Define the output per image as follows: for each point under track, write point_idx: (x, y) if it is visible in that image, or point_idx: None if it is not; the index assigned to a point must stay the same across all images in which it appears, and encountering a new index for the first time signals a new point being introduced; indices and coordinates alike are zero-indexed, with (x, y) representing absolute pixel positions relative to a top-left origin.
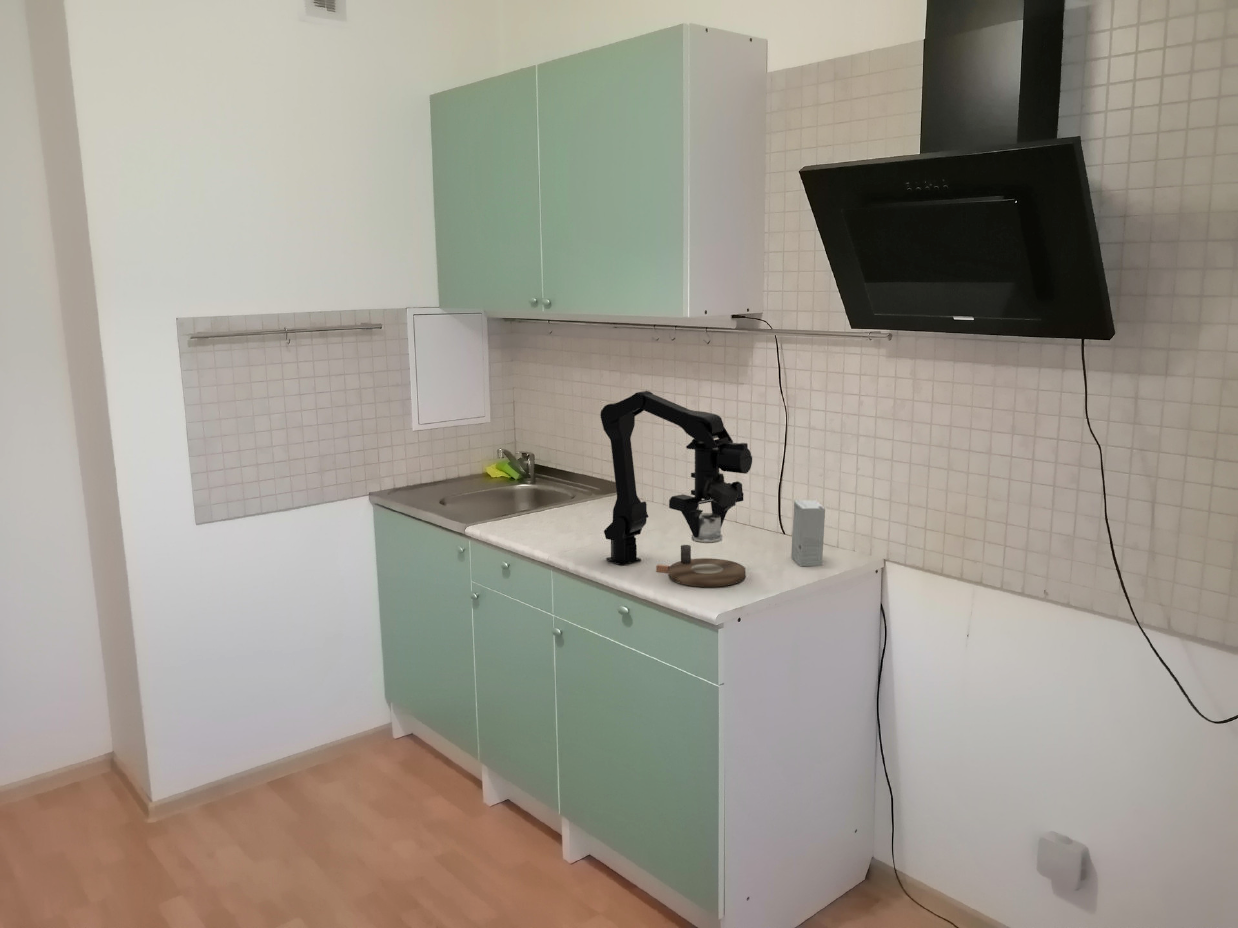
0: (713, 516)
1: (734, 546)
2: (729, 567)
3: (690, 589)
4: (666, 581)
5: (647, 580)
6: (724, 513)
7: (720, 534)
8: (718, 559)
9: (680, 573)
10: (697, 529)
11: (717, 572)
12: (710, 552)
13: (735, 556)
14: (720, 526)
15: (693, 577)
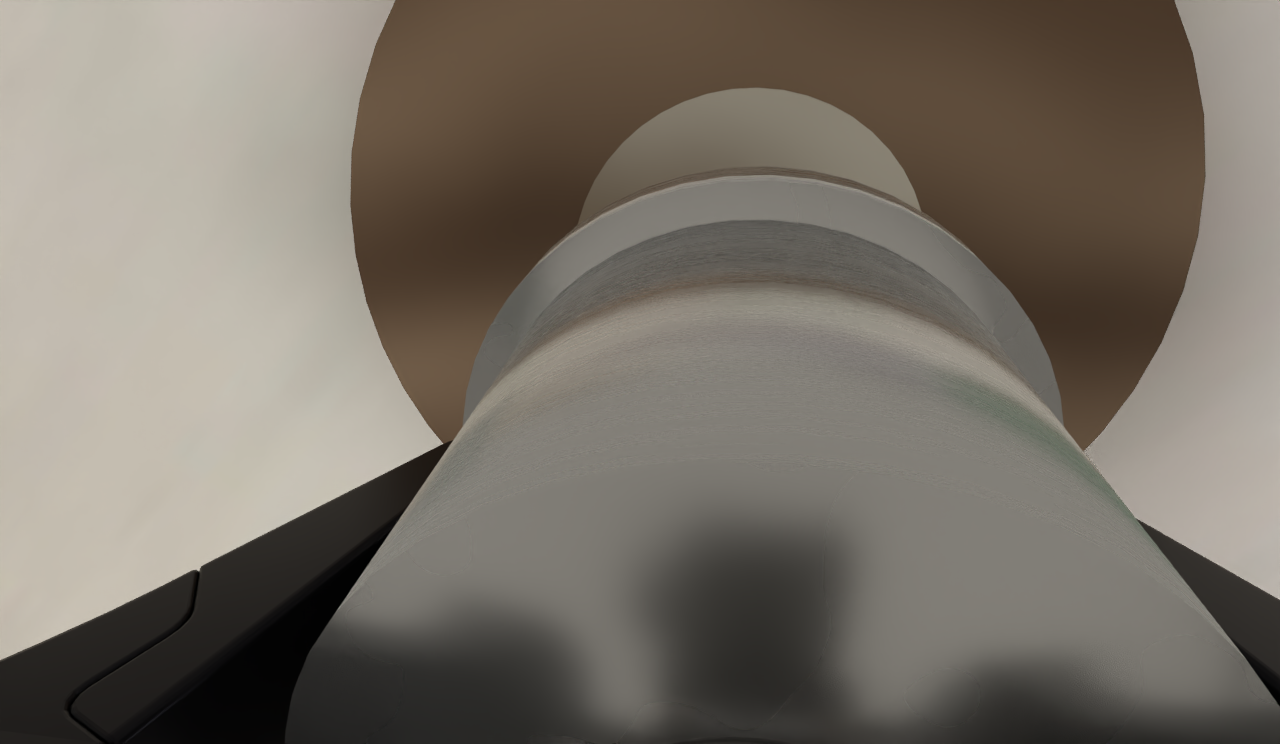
0: (593, 739)
1: (69, 619)
2: (520, 147)
3: (1244, 24)
4: (1136, 386)
5: (1214, 510)
6: (62, 687)
7: (576, 287)
8: (436, 410)
9: (1070, 341)
10: (1198, 577)
11: (764, 88)
12: None
13: (181, 471)
14: (533, 362)
15: (1116, 137)
